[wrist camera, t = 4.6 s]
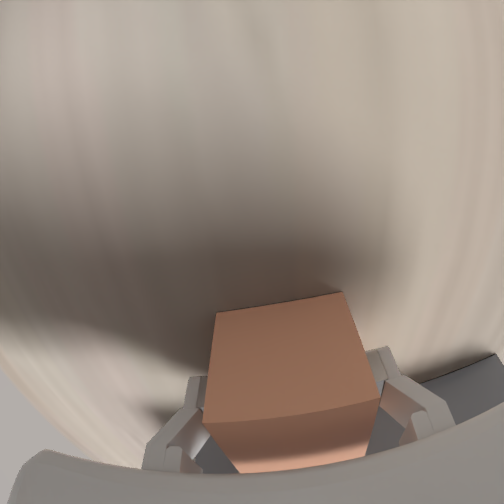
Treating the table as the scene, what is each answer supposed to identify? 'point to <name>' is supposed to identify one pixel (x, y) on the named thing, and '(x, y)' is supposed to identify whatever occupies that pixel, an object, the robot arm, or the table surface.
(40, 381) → the table surface
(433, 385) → the stand
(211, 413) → the cube
